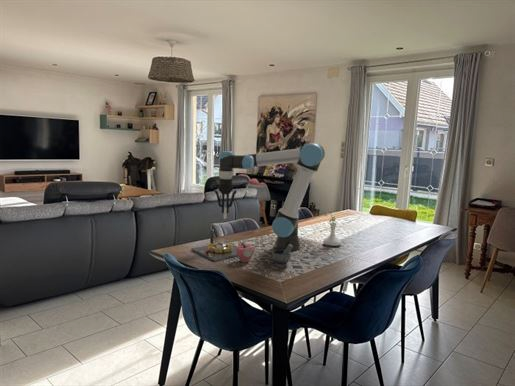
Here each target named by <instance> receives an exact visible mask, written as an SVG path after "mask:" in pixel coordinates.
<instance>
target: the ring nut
mask: <svg viewBox="0 0 515 386" xmlns="http://www.w3.org/2000/svg"><path fill="white" fill-rule="evenodd" d="M209 235H210V238H209V239H210V242H209V244H208V245H209V251H211V252H215V253H226V252H231V251H232V249H233V246H232V244H233V243H230V244H228V243H229V242H228V243H225V244H226V248H221V246H218V247H217V248H216V247H215V244H216V243H217V242H215V230H214V229H213V228H212V229H210V234H209ZM224 242H225V241H224V240H221V241H220V243H224Z"/></svg>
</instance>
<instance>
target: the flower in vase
mask: <svg viewBox="0 0 515 386" xmlns="http://www.w3.org/2000/svg"><path fill="white" fill-rule="evenodd" d="M332 208H333V205H330V206H329V209H327V210H326V212H325V213H324V216H323V217H327V216H328V215H329V213H330V216H331V219H329V222H328V224H329V225H330V234H329V235H328V236H326V237H325V238H324V239H323V240H322V242H323V244H324V245H326V246H330V247H331V246H332V247H337V246H341V245H342V241H341V239H340V238H338V236H336V234H335V231H336V228H337V225H338V222H335V221H336V217H335V216H333V215H332V212H331V211H332Z"/></svg>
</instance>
